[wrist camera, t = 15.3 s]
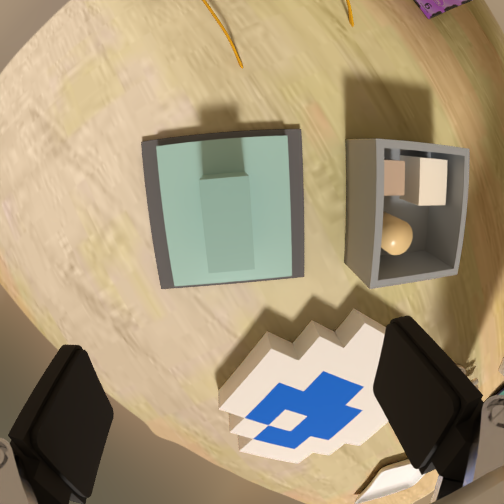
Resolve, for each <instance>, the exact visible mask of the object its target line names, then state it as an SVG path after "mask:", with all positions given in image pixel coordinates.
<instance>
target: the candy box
mask: <svg viewBox="0 0 504 504" xmlns="http://www.w3.org/2000/svg"><path fill="white" fill-rule="evenodd" d="M414 1H415V3H416V4H417V5H418V7H419V8H420V9H421V10H422V12H423V13H424V14H425V15H426V17H427V18H428V19H430V18H432V17H435V16H437V15H439V14H441V13H443V12H446V11H448V10H450V9H453V8H455V7H458V6H460V5H462V4H465V3H467V2H470V1H472V0H414Z"/></svg>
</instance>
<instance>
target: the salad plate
mask: <svg viewBox="0 0 504 504" xmlns="http://www.w3.org/2000/svg"><path fill="white" fill-rule="evenodd" d="M424 475H425V474H423V475H421V473H420V471H419V469H415V468H413V466H412V465H411V463H410V461H409V459H406V460H403V461H400V462H396V463H393V464H390V465H387V466H385V467H383V468H382V469H380V470H379V472H378V473H377V475H376V476H375V477H374V479H373V480H372V481H371V482H370V484H369V485H368V486H367V487H366V488H365V489H364V490H363V491H362V492H361V494H360V495H359V496H358V497H357V498H356V500H355V503H354V504H358V503H362V502H366V501H370V500H373V499H377V498H380V497H384V496H387V495H390V494H393V493H396V492H399V491H402V490H405V489H407V488H410V487H412V486H414V485H415V484H416V483H417V482H418V481H419V480H420V479H421V478H422V477H423V476H424Z"/></svg>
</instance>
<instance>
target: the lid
mask: <svg viewBox="0 0 504 504" xmlns="http://www.w3.org/2000/svg"><path fill="white" fill-rule="evenodd" d="M156 150H157V161H158V172H159V181H160V190H161V199H162V207H163V215H164V223H165V230H166V237H167V244H168V250H169V257H170V263H171V269H172V275H173V281H174V286H186V285H199V284H211V283H223V282H234V281H246V280H256V279H267V278H277V277H287V276H292V245H291V206H290V179H289V156H288V137H287V136H261V137H243V138H228V139H216V140H205V141H196V142H187V143H178V144H170V145H163V146H156Z"/></svg>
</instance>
